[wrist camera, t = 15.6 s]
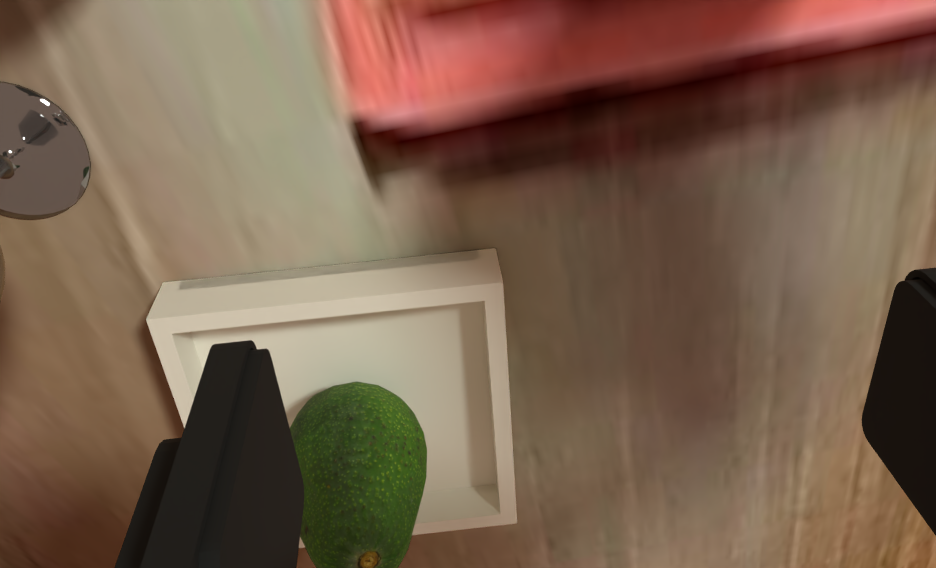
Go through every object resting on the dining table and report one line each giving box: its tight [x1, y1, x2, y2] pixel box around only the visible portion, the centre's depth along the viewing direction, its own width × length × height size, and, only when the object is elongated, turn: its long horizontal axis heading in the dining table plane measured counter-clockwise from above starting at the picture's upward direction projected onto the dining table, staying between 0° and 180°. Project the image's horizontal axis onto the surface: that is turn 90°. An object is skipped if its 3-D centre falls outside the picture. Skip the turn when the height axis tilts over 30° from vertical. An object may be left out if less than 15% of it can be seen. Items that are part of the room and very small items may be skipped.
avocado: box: [290, 381, 427, 568], centre depth 42 cm, size 8×8×12 cm
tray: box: [146, 248, 517, 548], centre depth 47 cm, size 18×18×4 cm
